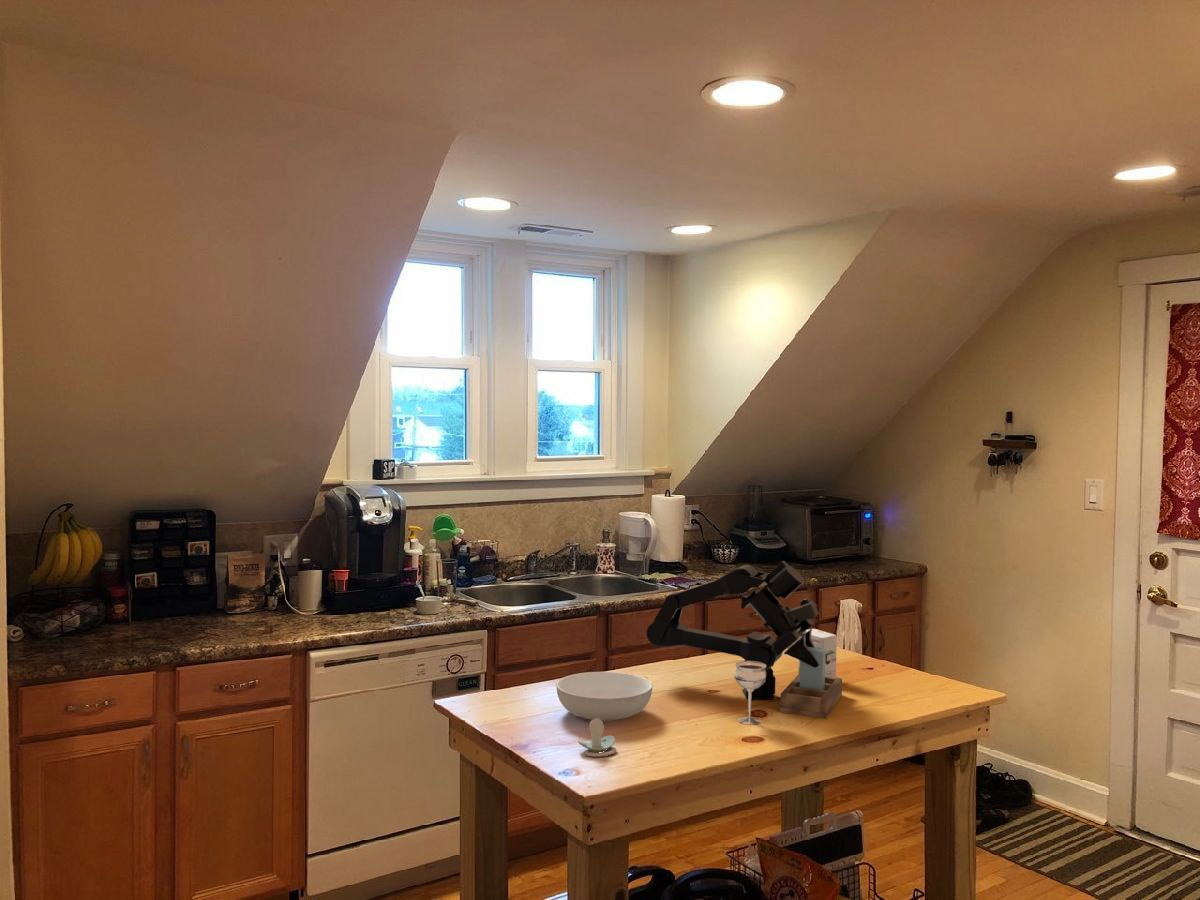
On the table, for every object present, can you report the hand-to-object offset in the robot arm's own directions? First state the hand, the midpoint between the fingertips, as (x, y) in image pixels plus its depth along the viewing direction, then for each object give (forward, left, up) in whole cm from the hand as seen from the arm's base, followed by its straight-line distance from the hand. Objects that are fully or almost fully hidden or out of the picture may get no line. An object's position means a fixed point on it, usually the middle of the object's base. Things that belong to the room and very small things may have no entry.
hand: (818, 664), depth 210 cm
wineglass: (-18, -12, -9) cm, 23 cm away
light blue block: (-1, +1, -7) cm, 7 cm away
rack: (-1, +1, -9) cm, 9 cm away
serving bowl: (-49, -9, -9) cm, 50 cm away
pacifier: (-50, -32, -9) cm, 60 cm away
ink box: (+4, +20, -9) cm, 22 cm away
